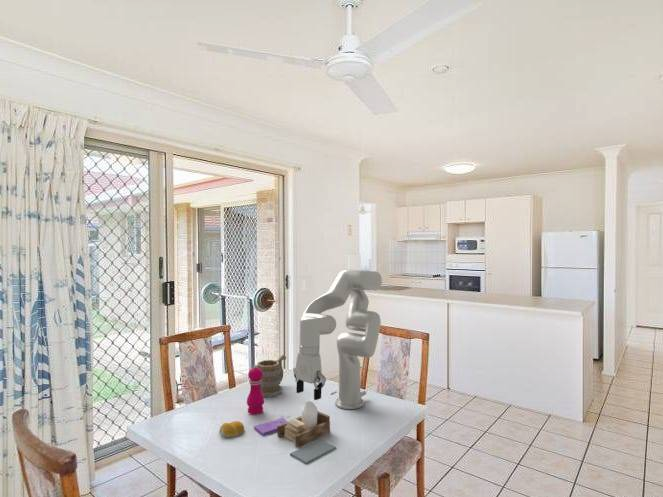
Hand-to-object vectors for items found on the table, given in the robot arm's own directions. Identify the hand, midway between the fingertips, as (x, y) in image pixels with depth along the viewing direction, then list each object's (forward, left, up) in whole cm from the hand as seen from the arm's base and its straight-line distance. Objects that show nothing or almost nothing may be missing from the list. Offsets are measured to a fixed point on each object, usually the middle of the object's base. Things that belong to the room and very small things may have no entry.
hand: (308, 395), depth 149 cm
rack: (+2, 0, -14) cm, 14 cm away
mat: (+8, +11, -14) cm, 20 cm away
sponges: (+7, -13, -15) cm, 21 cm away
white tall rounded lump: (-1, 0, -14) cm, 14 cm away
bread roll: (+20, -21, -14) cm, 32 cm away
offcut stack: (+6, 0, -14) cm, 15 cm away
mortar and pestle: (-18, -45, -14) cm, 50 cm away
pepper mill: (+3, -30, -14) cm, 33 cm away
